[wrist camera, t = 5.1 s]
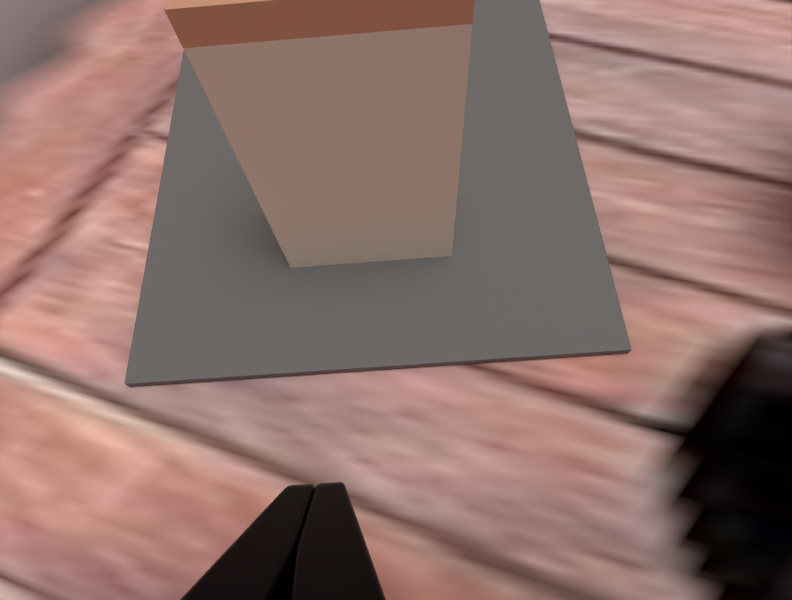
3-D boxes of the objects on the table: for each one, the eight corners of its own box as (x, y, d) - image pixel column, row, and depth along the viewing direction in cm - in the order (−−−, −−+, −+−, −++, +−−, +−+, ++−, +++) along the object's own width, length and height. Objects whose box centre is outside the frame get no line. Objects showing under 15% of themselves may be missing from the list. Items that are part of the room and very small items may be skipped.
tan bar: (451, 256, 22) (475, -18, 11) (290, 267, 22) (164, 9, 12) (444, 190, 24) (459, -107, 13) (293, 201, 24) (183, -82, 13)
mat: (627, 352, 20) (631, 349, 20) (129, 386, 21) (124, 383, 21) (523, -50, 32) (524, -56, 31) (200, -21, 32) (197, -28, 32)
